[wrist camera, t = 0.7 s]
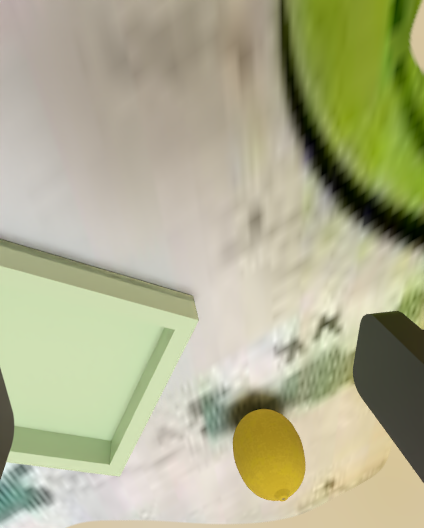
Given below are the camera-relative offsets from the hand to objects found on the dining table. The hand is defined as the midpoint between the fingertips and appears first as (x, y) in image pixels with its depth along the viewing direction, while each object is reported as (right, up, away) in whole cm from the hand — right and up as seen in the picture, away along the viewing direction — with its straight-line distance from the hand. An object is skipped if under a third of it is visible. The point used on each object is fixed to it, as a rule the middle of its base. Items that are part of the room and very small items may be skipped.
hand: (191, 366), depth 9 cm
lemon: (+4, -11, +27) cm, 30 cm away
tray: (-11, -4, +21) cm, 24 cm away
